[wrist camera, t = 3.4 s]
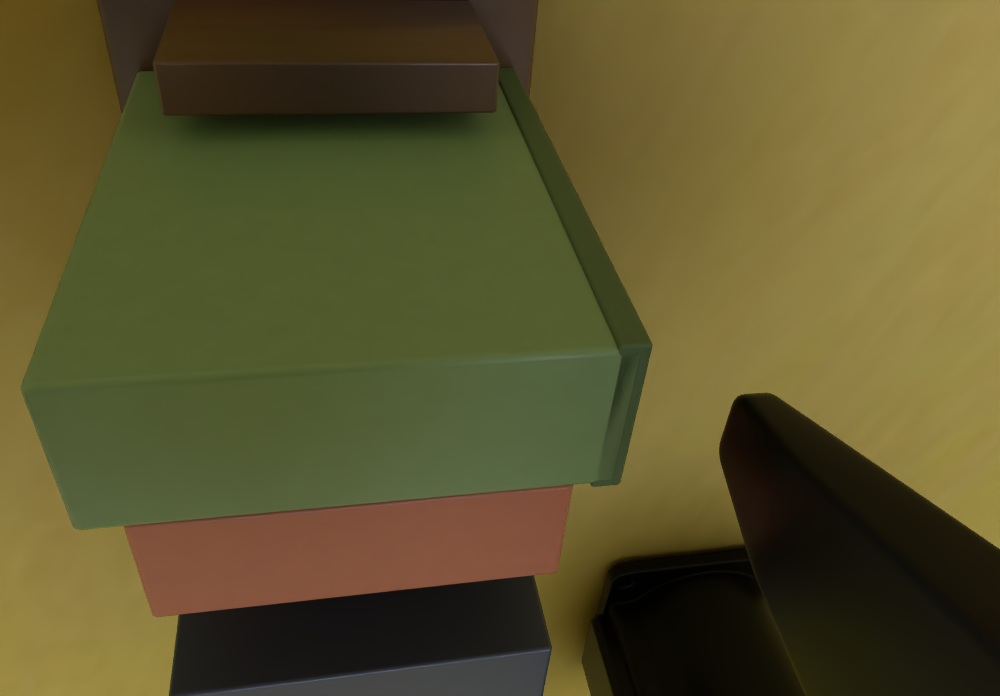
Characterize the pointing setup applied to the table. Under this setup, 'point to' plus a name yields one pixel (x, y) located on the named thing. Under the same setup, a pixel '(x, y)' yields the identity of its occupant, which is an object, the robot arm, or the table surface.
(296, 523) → the terracotta book
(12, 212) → the table surface
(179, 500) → the sage-green book
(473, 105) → the book rack
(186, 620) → the navy book
